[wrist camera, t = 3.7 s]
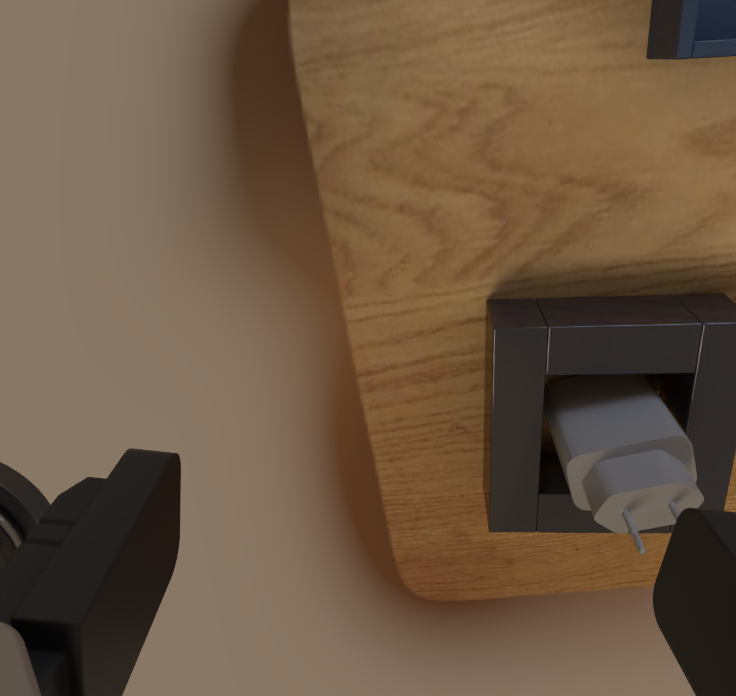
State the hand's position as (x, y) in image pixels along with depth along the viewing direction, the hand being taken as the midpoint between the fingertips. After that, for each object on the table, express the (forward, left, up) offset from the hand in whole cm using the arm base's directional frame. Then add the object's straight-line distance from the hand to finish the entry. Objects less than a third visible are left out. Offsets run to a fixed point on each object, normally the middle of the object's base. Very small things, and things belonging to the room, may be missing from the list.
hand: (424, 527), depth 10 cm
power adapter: (+9, -11, -24) cm, 28 cm away
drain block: (+9, -11, -24) cm, 28 cm away
